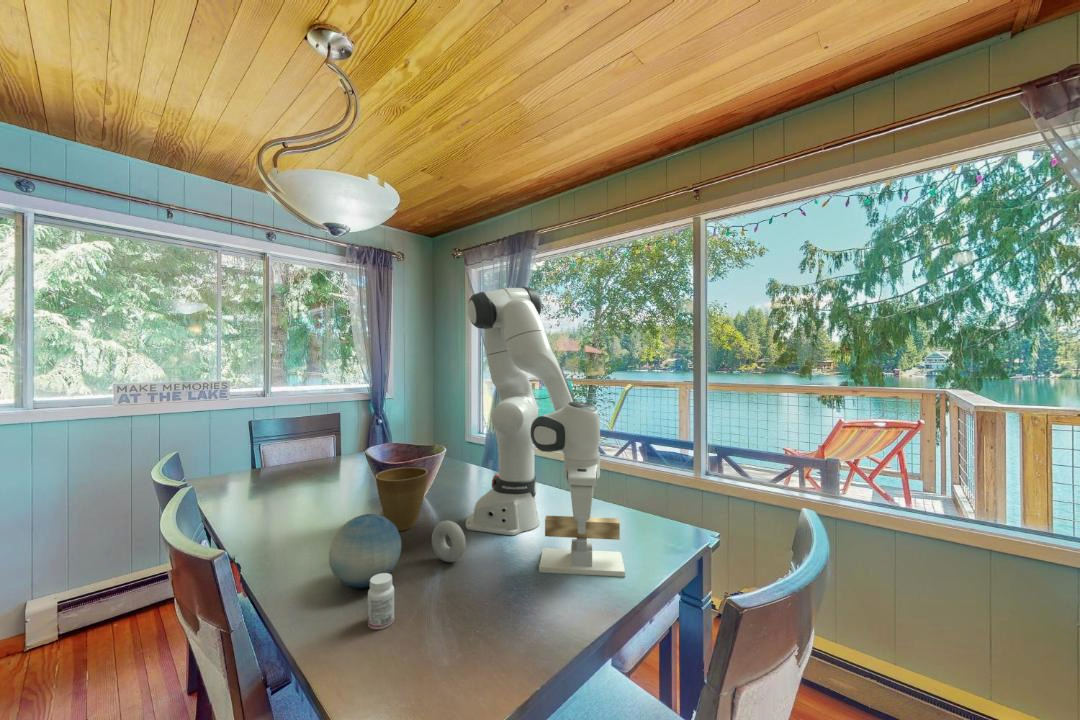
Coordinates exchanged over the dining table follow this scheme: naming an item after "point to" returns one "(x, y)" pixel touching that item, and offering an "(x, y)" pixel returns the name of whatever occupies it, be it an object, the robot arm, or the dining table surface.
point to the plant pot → (402, 495)
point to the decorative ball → (364, 550)
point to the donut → (456, 537)
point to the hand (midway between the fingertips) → (581, 525)
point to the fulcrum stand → (582, 560)
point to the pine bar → (594, 527)
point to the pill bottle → (381, 601)
